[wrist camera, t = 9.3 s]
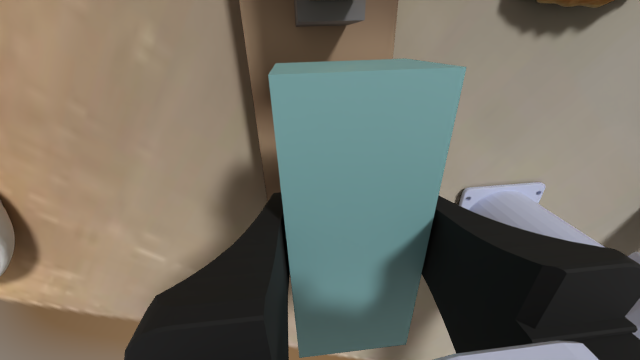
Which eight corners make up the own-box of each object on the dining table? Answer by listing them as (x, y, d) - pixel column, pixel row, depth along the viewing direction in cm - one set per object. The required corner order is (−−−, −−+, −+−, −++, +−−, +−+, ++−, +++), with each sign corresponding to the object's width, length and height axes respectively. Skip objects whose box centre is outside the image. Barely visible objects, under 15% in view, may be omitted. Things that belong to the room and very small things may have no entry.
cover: (380, 277, 16) (406, 344, 12) (297, 285, 15) (299, 357, 12) (404, 58, 10) (465, 67, 7) (275, 63, 10) (268, 74, 6)
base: (371, 203, 24) (395, 250, 18) (272, 211, 23) (267, 262, 18) (391, -52, 16) (446, -104, 10) (236, -52, 15) (206, -107, 9)
